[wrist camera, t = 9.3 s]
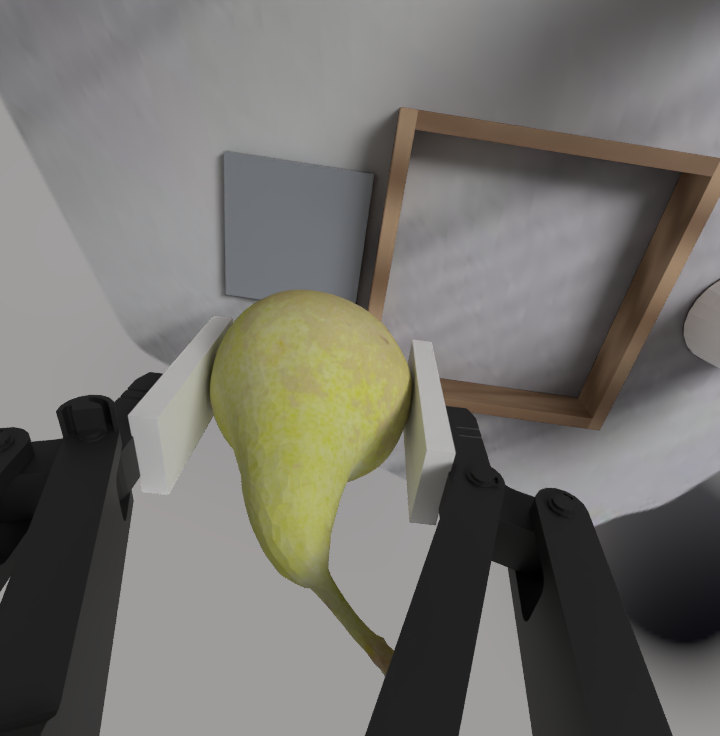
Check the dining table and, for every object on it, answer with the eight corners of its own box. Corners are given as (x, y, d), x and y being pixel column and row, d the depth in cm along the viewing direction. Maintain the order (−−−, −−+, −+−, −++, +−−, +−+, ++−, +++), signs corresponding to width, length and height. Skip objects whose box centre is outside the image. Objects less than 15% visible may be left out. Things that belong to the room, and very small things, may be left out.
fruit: (287, 230, 16) (119, 432, 6) (450, 332, 18) (545, 628, 8) (217, 363, 19) (21, 654, 9) (363, 439, 21) (344, 759, 10)
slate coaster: (226, 150, 30) (223, 151, 29) (374, 173, 30) (373, 174, 29) (228, 291, 34) (225, 294, 34) (354, 310, 35) (354, 313, 34)
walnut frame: (399, 108, 28) (401, 107, 25) (705, 157, 28) (737, 161, 26) (357, 376, 38) (355, 395, 35) (584, 409, 38) (599, 430, 36)
